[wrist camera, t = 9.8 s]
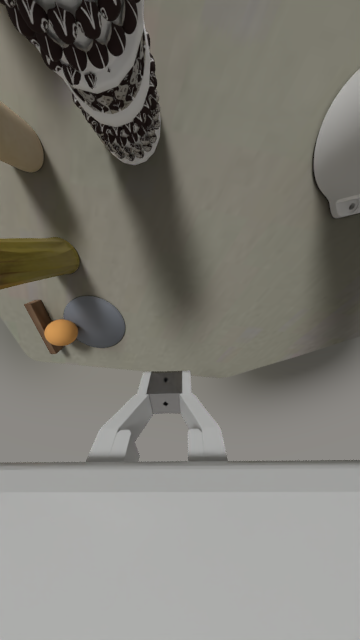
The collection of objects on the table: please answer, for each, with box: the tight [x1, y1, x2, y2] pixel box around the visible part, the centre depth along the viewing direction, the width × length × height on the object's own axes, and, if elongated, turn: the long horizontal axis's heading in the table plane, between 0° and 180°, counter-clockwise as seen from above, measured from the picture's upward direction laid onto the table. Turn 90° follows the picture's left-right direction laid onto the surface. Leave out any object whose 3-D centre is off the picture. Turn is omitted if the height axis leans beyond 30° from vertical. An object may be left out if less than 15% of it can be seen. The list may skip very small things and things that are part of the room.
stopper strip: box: [24, 300, 63, 354], centre depth 32 cm, size 1×12×2 cm, turn 2°
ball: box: [44, 319, 78, 346], centre depth 31 cm, size 6×6×6 cm
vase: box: [0, 237, 79, 289], centre depth 21 cm, size 6×6×14 cm
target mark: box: [64, 296, 125, 348], centre depth 33 cm, size 13×13×1 cm
